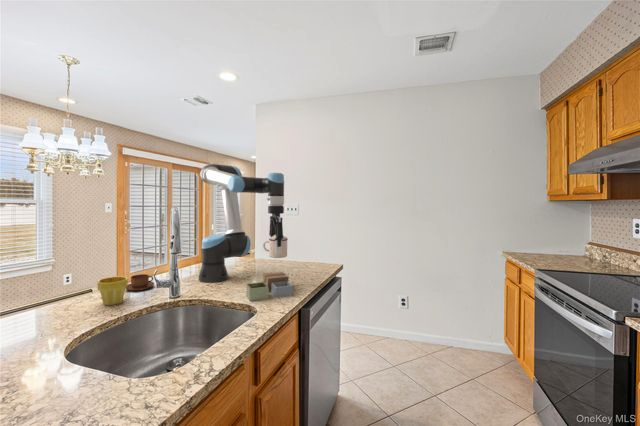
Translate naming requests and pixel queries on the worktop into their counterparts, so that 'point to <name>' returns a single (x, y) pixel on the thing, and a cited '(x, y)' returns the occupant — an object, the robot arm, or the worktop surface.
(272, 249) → the teacup with lid
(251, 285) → the olive tin
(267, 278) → the walnut stand
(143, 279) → the cup and saucer
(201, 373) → the worktop surface
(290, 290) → the grey tub
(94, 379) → the worktop surface
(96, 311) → the worktop surface
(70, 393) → the worktop surface
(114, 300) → the plant pot
